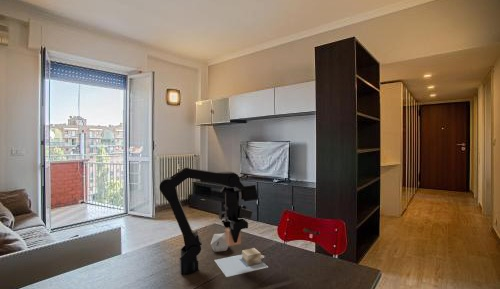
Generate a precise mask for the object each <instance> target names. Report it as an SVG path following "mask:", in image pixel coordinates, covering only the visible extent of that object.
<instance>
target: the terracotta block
mask: <svg viewBox="0 0 500 289" xmlns="http://www.w3.org/2000/svg"><path fill="white" fill-rule="evenodd" d="M224 233H225V242H226V243H227V244H228V247H232V246H237V245H241V244H242V229H241V230H240V233H239V236H238V240H237V242H236V243H234V241H233V238H232V235H231V233H230V230H229V227H224Z"/></svg>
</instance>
